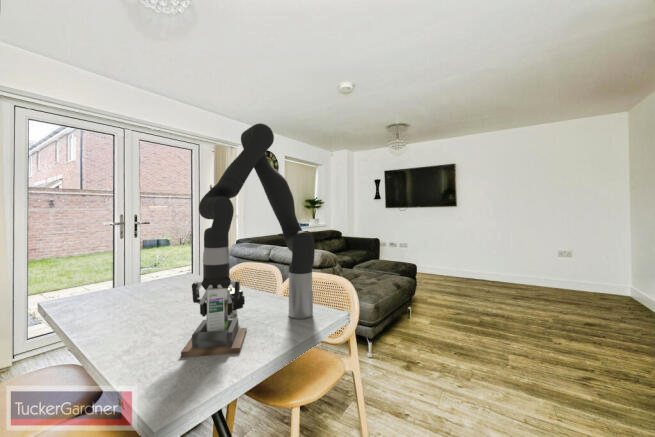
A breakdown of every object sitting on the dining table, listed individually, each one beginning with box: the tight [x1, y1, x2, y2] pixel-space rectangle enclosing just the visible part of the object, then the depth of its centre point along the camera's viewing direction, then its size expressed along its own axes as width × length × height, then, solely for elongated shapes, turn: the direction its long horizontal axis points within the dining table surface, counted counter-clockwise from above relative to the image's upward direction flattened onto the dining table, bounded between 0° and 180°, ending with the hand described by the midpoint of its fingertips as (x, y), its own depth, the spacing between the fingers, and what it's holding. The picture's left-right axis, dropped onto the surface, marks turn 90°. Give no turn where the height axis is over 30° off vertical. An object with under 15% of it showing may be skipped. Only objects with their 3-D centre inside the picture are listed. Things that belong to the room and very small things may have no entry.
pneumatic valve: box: [228, 286, 246, 319], centre depth 105 cm, size 6×12×12 cm, turn 50°
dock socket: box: [180, 317, 248, 358], centre depth 85 cm, size 16×14×6 cm
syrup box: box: [205, 288, 228, 332], centre depth 85 cm, size 6×6×14 cm
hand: (216, 314), depth 85 cm, fingers closed on syrup box, 6 cm apart
